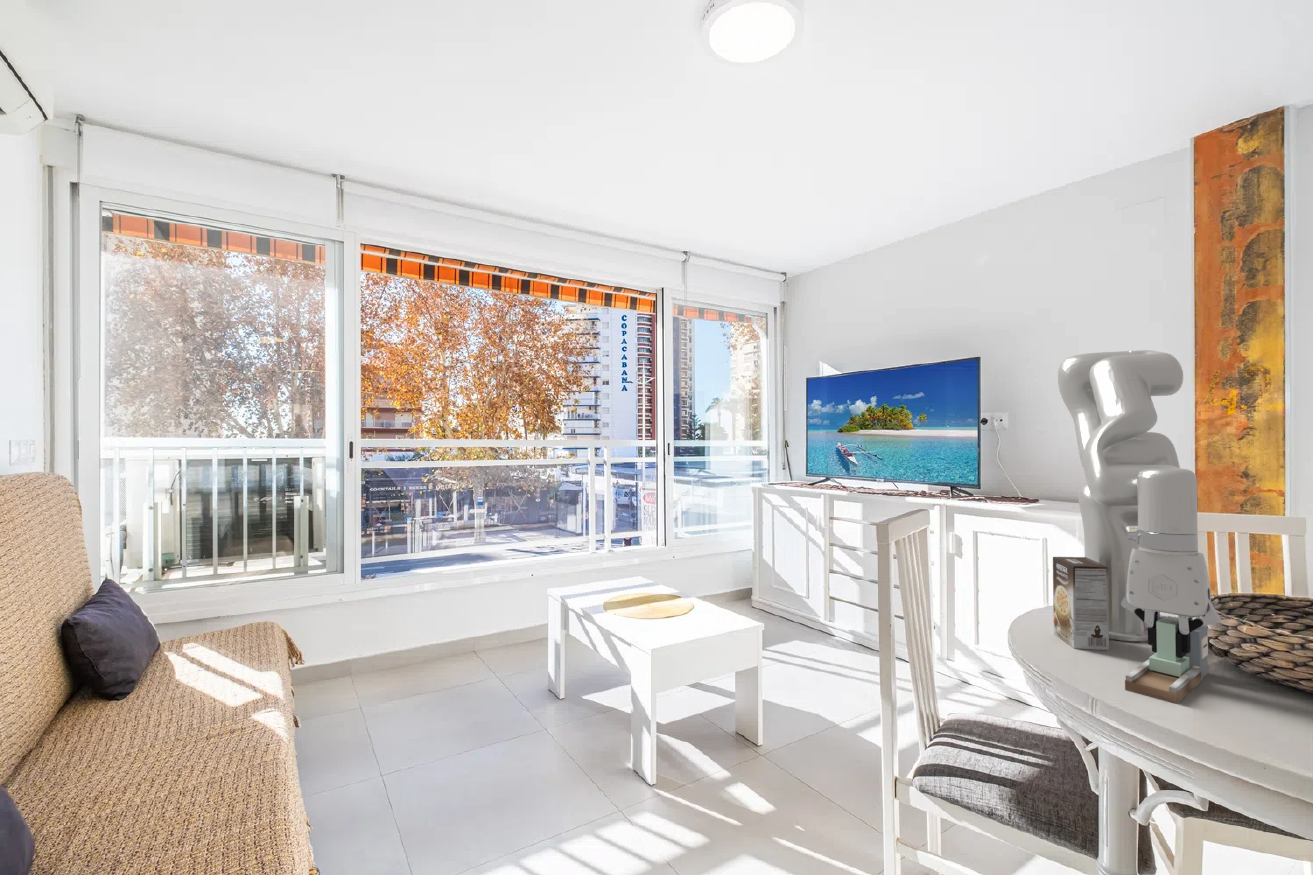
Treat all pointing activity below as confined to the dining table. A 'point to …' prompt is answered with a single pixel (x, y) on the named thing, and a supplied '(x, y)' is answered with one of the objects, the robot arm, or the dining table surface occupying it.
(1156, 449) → the robot arm
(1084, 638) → the coffee box
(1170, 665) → the carriage
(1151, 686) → the rail track
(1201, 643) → the grey upright housing
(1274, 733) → the dining table surface
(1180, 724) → the dining table surface
